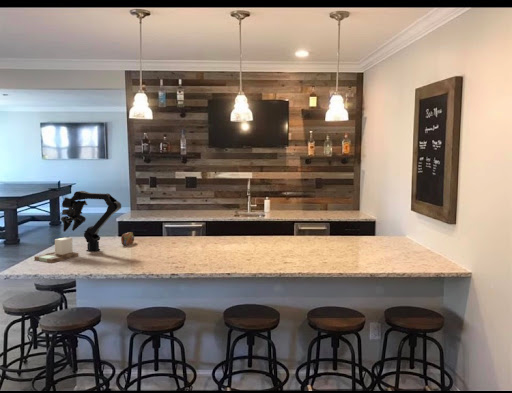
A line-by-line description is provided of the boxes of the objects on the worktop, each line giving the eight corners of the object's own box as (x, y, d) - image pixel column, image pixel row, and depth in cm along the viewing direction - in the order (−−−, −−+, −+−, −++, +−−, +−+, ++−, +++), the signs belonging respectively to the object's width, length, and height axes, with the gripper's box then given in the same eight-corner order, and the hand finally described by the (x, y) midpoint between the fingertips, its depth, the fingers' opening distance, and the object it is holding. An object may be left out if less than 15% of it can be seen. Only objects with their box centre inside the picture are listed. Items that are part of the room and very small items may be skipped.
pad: (47, 258, 267) (47, 255, 267) (55, 259, 264) (55, 256, 264) (39, 260, 262) (38, 257, 261) (47, 261, 258) (46, 258, 258)
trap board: (61, 253, 281) (61, 250, 281) (78, 256, 274) (78, 252, 274) (34, 259, 263) (34, 256, 263) (51, 262, 257) (51, 259, 257)
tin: (124, 246, 304) (124, 234, 303) (120, 246, 304) (120, 234, 304) (134, 242, 318) (134, 231, 318) (130, 242, 319) (130, 231, 318)
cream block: (65, 251, 278) (65, 237, 277) (72, 252, 276) (72, 238, 275) (55, 253, 271) (54, 239, 270) (61, 254, 268) (61, 240, 268)
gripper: (58, 205, 286) (49, 226, 279) (76, 202, 276) (66, 224, 269) (72, 212, 294) (63, 233, 287) (89, 210, 284) (81, 232, 277)
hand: (68, 230), depth 280 cm, fingers open, 9 cm apart
